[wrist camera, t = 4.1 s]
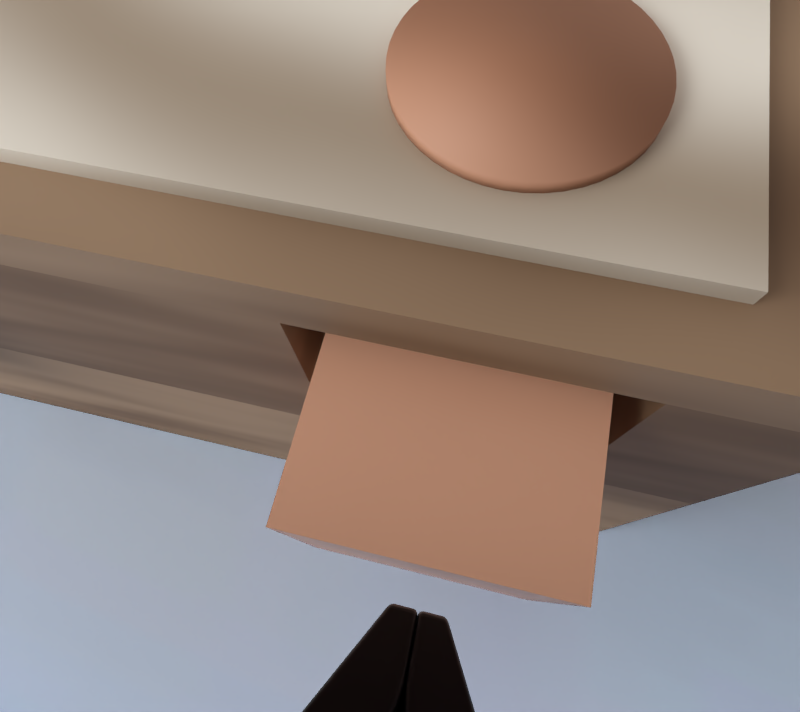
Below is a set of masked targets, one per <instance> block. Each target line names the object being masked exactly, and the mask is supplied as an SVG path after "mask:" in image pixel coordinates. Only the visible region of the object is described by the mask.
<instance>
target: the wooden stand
mask: <svg viewBox="0 0 800 712" xmlns="http://www.w3.org/2000/svg"><path fill="white" fill-rule="evenodd" d="M325 333H329V334H334V335H339V336H344V337H348V338H353V339H358V340H363V341H367V342H372V343H377V344H382V345H386V346H391V347H396V348H401V349H406V350H410V351H415V352H420V353H425V354H429V355H434V356H439V357H444V358H448V359H453V360H458V361H463V362H468V363H472V364H477V365H482V366H487V367H491V368H496V369H501V370H506V371H510V372H515V373H520V374H525V375H529V376H534V377H539V378H544V379H549V380H553V381H558V382H563V383H568V384H572V385H577V386H582V387H587V388H591V389H596V390H601V391H606V392H611V393H614V394H613V403H612V412H611V422H610V431H609V441H608V450H607V459H606V469H605V478H604V488H603V497H602V507H601V516H600V525H599V531H602V530H606V529H609V528H612V527H616V526H619V525H623V524H626V523H629V522H633V521H636V520H640V519H643V518H647V517H650V516H653V515H657V514H660V513H664V512H667V511H670V510H674V509H677V508H681V507H684V506H687V505H691V504H694V503H698V502H701V501H705V500H708V499H711V498H715V497H718V496H722V495H725V494H728V493H732V492H735V491H739V490H742V489H745V488H749V487H752V486H756V485H759V484H763V483H766V482H769V481H773V480H776V479H780V478H783V477H786V476H790V475H793V474H797V473H800V0H0V393H4V394H8V395H12V396H17V397H21V398H25V399H29V400H34V401H38V402H42V403H46V404H51V405H55V406H59V407H64V408H68V409H72V410H76V411H81V412H85V413H89V414H93V415H98V416H102V417H106V418H111V419H115V420H119V421H123V422H128V423H132V424H136V425H140V426H145V427H149V428H153V429H157V430H162V431H166V432H170V433H175V434H179V435H183V436H187V437H192V438H196V439H200V440H204V441H209V442H213V443H217V444H221V445H226V446H230V447H234V448H239V449H243V450H247V451H251V452H256V453H260V454H264V455H268V456H273V457H277V458H281V459H286V460H287V457H288V453H289V450H290V447H291V444H292V440H293V437H294V434H295V431H296V427H297V424H298V421H299V418H300V414H301V411H302V408H303V404H304V401H305V398H306V395H307V391H308V388H309V385H310V382H311V378H312V375H313V372H314V369H315V365H316V362H317V359H318V355H319V352H320V349H321V346H322V342H323V339H324V336H325Z"/></svg>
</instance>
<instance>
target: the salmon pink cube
mask: <svg viewBox="0 0 800 712" xmlns="http://www.w3.org/2000/svg"><path fill="white" fill-rule="evenodd" d="M613 394H614V393H611V392H606V391H601V390H596V389H591V388H587V387H582V386H577V385H572V384H568V383H563V382H558V381H553V380H549V379H544V378H539V377H534V376H529V375H525V374H520V373H515V372H510V371H506V370H501V369H496V368H491V367H487V366H482V365H477V364H472V363H468V362H463V361H458V360H453V359H448V358H444V357H439V356H434V355H429V354H425V353H420V352H415V351H410V350H406V349H401V348H396V347H391V346H386V345H382V344H377V343H372V342H367V341H363V340H358V339H353V338H348V337H344V336H339V335H334V334H329V333H325V336H324V339H323V342H322V346H321V349H320V352H319V355H318V359H317V362H316V365H315V369H314V372H313V375H312V378H311V382H310V385H309V388H308V391H307V395H306V398H305V401H304V404H303V408H302V411H301V414H300V418H299V421H298V424H297V427H296V431H295V434H294V437H293V440H292V444H291V447H290V450H289V453H288V457H287V460H286V463H285V467H284V470H283V473H282V476H281V480H280V483H279V486H278V489H277V493H276V496H275V499H274V502H273V506H272V509H271V512H270V516H269V519H268V522H267V525H266V527H267V528H270V529H272V530H274V531H277V532H279V533H282V534H284V535H287V536H289V537H292V538H294V539H297V540H299V541H302V542H304V543H306V544H309V545H311V546H314V547H317V548H321V549H325V550H329V551H333V552H337V553H341V554H345V555H349V556H353V557H357V558H361V559H365V560H369V561H373V562H377V563H381V564H385V565H389V566H393V567H397V568H401V569H405V570H409V571H413V572H417V573H421V574H425V575H429V576H433V577H437V578H441V579H445V580H449V581H453V582H457V583H461V584H465V585H469V586H473V587H478V588H482V589H486V590H490V591H494V592H498V593H502V594H506V595H510V596H514V597H518V598H522V599H526V600H532V601H541V602H549V603H557V604H566V605H574V606H583V607H591V601H592V591H593V582H594V572H595V563H596V554H597V544H598V535H599V525H600V516H601V507H602V497H603V488H604V478H605V469H606V459H607V450H608V441H609V431H610V422H611V412H612V403H613Z"/></svg>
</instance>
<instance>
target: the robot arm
mask: <svg viewBox="0 0 800 712" xmlns="http://www.w3.org/2000/svg"><path fill="white" fill-rule="evenodd" d="M302 712H475V711H474V707H473V704H472V701H471V697H470V694H469V691H468V687H467V684H466V680H465V677H464V674H463V670H462V667H461V664H460V660H459V657H458V653H457V650H456V647H455V643H454V640H453V637H452V633H451V630H450V626H449V623H448V621H447V619H446V618H445V617H443V616H439V615H435V614H431V613H428V612H420V613H419V614H418V616H417V612H416V610H415V609H412V608H408V607H404V606H400V605H397V604H391V605H389V606H388V607H387V608H386V609H385V610H384V612H383V613H382V614H381V615H380V617H379V618H378V619H377V620H376V621H375V623H374V624H373V625H372V626H371V628H370V629H369V630H368V631H367V633H366V634H365V635H364V636H363V637H362V639H361V640H360V641H359V642H358V644H357V645H356V646H355V647H354V649H353V650H352V651H351V652H350V653H349V655H348V656H347V657H346V658H345V660H344V661H343V662H342V663H341V665H340V666H339V667H338V668H337V669H336V671H335V672H334V673H333V674H332V676H331V677H330V678H329V679H328V681H327V682H326V683H325V684H324V686H323V687H322V688H321V689H320V690H319V692H318V693H317V694H316V695H315V697H314V698H313V699H312V700H311V702H310V703H309V704H308V705H307V706H306V708H305V709H304V710H303V711H302Z"/></svg>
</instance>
